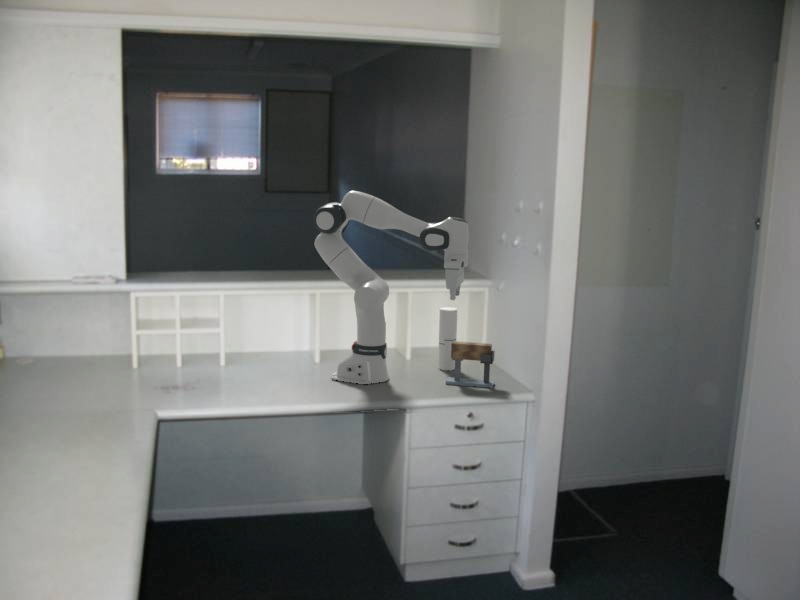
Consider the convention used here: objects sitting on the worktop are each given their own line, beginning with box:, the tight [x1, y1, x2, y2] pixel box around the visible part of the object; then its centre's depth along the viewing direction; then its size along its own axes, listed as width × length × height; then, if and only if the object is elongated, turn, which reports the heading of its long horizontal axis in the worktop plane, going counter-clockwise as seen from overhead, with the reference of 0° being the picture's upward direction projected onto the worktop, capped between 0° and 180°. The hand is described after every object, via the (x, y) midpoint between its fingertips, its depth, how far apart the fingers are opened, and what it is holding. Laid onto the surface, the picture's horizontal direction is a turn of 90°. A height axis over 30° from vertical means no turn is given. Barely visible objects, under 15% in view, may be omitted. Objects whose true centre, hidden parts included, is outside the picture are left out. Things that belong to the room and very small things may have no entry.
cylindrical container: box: [437, 306, 458, 371], centre depth 328 cm, size 7×7×25 cm
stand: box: [445, 350, 495, 389], centre depth 307 cm, size 18×7×13 cm, turn 77°
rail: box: [451, 340, 493, 362], centre depth 306 cm, size 15×4×6 cm, turn 77°
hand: (454, 297), depth 299 cm, fingers open, 8 cm apart
